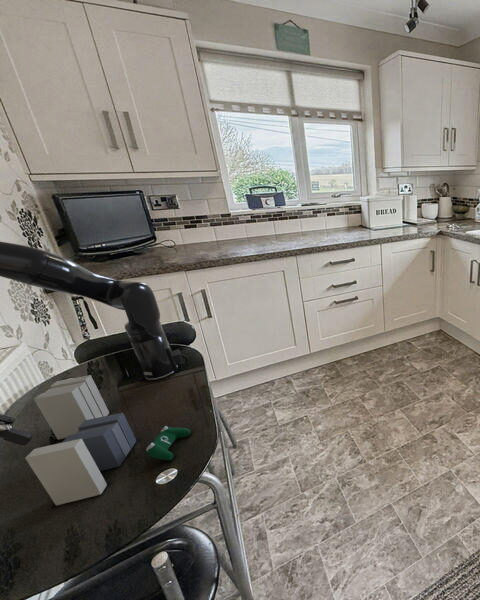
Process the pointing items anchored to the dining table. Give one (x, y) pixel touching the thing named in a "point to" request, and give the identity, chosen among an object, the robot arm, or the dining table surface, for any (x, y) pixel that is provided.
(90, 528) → the dining table surface
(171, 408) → the dining table surface
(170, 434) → the gaming controller
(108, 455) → the grey books
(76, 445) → the white book
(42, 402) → the white books
